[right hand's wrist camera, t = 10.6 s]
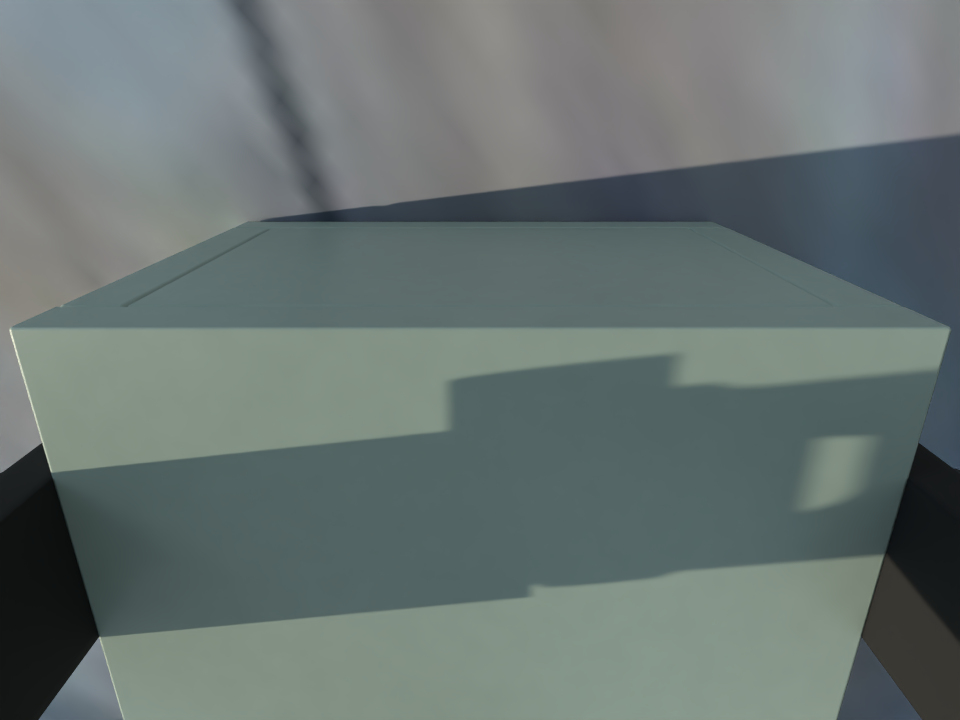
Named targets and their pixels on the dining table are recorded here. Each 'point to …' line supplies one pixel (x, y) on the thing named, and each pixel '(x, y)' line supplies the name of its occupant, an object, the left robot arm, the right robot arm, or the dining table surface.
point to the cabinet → (480, 471)
